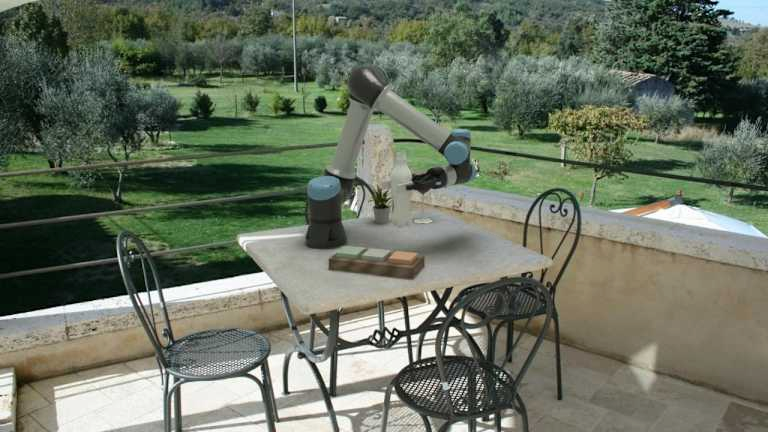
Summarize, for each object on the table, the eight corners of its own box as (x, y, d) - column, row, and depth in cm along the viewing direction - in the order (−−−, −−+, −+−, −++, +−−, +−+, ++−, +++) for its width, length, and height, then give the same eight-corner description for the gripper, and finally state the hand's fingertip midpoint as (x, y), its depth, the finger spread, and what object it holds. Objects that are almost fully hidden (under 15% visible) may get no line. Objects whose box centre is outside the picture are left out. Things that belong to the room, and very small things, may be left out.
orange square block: (388, 266, 191) (388, 258, 190) (396, 259, 197) (396, 251, 196) (410, 269, 188) (410, 260, 188) (417, 261, 195) (417, 253, 194)
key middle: (361, 263, 194) (361, 255, 193) (370, 256, 200) (370, 248, 200) (383, 265, 191) (383, 257, 191) (391, 258, 198) (391, 250, 197)
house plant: (354, 222, 248) (352, 183, 244) (376, 215, 258) (375, 177, 254) (381, 228, 239) (380, 187, 235) (403, 220, 250) (402, 181, 245)
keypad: (328, 269, 196) (328, 258, 195) (344, 257, 207) (343, 247, 206) (412, 279, 186) (412, 268, 185) (424, 266, 197) (424, 255, 196)
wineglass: (435, 218, 251) (435, 170, 246) (429, 224, 243) (430, 175, 238) (416, 217, 254) (416, 169, 248) (410, 223, 246) (410, 174, 241)
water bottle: (413, 222, 210) (412, 150, 204) (411, 228, 203) (411, 153, 197) (392, 222, 211) (391, 150, 204) (390, 228, 204) (389, 153, 197)
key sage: (336, 260, 197) (335, 252, 196) (345, 253, 203) (344, 245, 203) (356, 263, 194) (356, 254, 194) (365, 256, 201) (365, 247, 200)
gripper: (460, 192, 208) (410, 203, 194) (420, 183, 223) (371, 193, 209) (461, 170, 206) (410, 180, 192) (420, 163, 221) (370, 171, 207)
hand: (389, 187), depth 200 cm, fingers closed on water bottle, 7 cm apart
